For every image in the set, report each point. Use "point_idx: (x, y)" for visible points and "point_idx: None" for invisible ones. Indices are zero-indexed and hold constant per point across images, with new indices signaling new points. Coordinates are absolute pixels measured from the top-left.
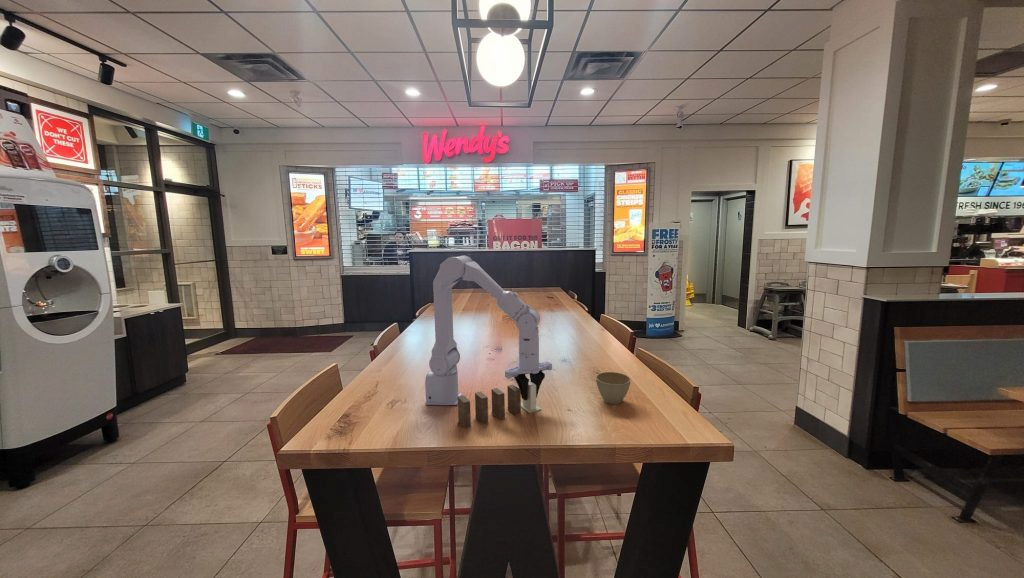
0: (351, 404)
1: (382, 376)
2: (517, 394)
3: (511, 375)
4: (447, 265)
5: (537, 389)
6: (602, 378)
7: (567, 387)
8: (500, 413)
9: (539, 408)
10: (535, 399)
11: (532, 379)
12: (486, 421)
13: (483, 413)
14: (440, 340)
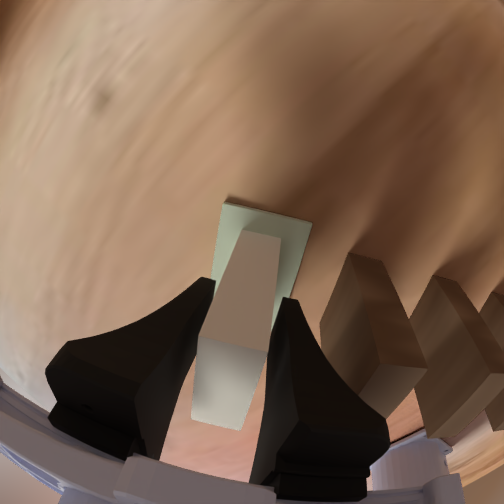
0: (482, 471)
1: None
2: (398, 340)
3: (436, 500)
4: None
5: (185, 305)
6: None
7: (13, 280)
8: (462, 295)
9: (226, 215)
10: (235, 259)
11: (169, 404)
12: (499, 295)
13: None
14: None
